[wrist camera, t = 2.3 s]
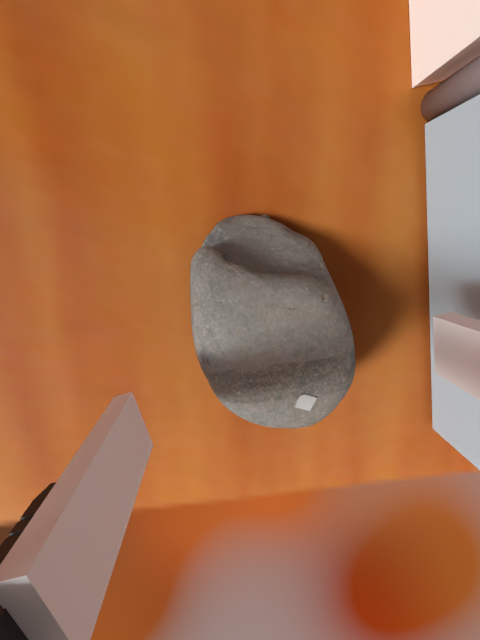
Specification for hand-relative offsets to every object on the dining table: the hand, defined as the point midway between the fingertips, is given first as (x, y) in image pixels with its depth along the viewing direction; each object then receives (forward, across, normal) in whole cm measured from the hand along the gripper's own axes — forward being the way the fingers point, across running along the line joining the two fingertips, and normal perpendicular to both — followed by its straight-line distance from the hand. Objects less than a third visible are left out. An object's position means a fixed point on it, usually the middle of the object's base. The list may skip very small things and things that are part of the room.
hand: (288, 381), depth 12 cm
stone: (+8, 0, +2) cm, 8 cm away
